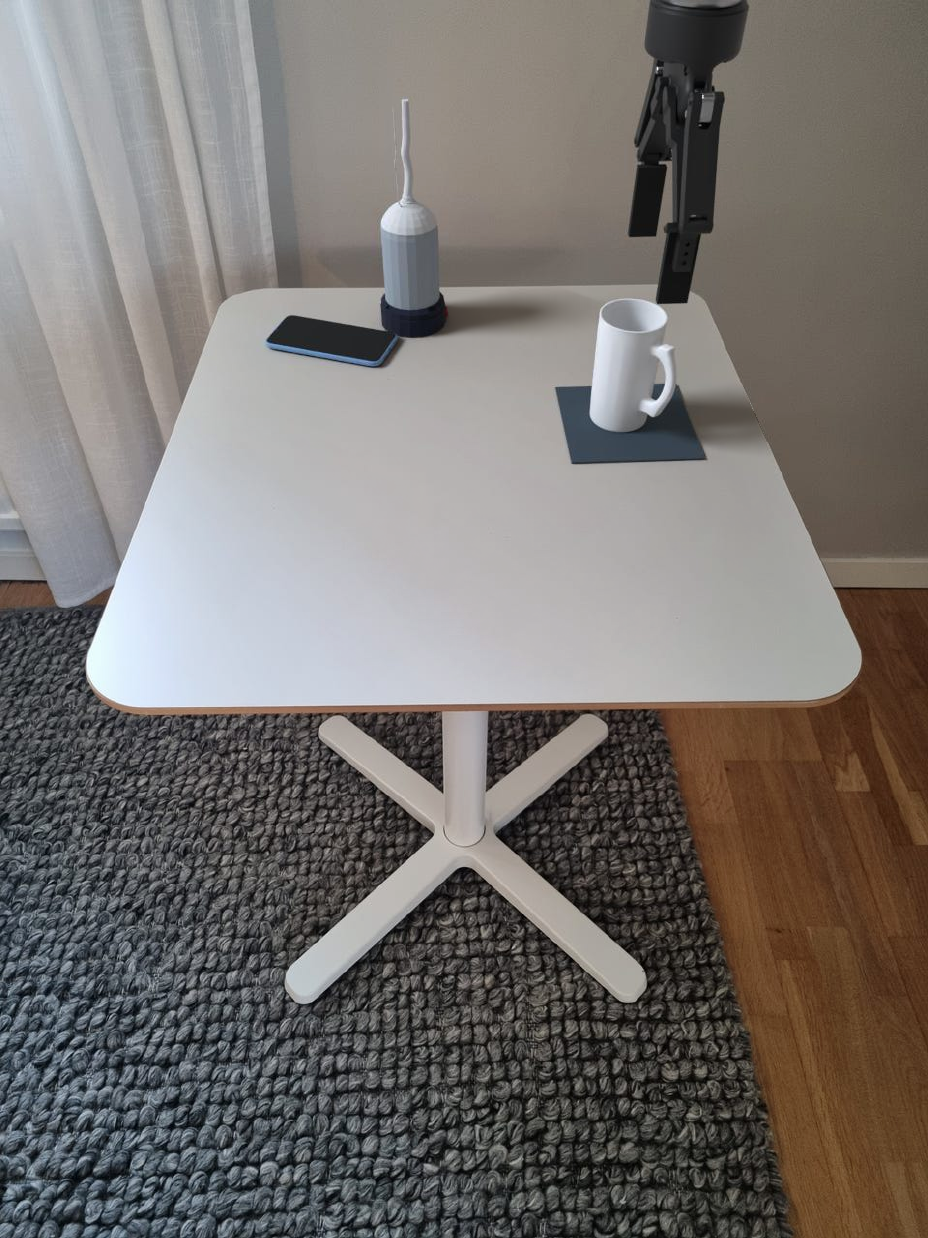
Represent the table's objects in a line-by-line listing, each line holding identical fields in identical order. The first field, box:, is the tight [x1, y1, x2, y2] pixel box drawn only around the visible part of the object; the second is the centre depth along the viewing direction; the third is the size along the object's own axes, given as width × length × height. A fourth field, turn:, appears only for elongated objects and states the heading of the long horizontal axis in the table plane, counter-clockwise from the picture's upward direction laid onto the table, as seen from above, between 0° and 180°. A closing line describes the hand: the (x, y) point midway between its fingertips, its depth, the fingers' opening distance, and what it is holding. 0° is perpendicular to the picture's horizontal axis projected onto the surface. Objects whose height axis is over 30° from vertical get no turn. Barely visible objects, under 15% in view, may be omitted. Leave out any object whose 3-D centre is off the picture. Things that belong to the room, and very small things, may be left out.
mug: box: [590, 298, 678, 432], centre depth 90 cm, size 10×7×12 cm, turn 37°
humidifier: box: [379, 98, 449, 339], centre depth 101 cm, size 8×8×25 cm
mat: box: [554, 383, 706, 465], centre depth 95 cm, size 14×14×1 cm
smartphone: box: [265, 314, 398, 367], centre depth 106 cm, size 7×1×15 cm
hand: (655, 266), depth 82 cm, fingers open, 13 cm apart
